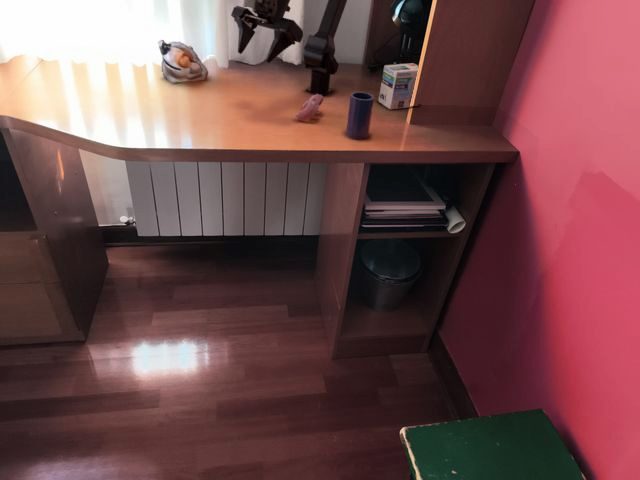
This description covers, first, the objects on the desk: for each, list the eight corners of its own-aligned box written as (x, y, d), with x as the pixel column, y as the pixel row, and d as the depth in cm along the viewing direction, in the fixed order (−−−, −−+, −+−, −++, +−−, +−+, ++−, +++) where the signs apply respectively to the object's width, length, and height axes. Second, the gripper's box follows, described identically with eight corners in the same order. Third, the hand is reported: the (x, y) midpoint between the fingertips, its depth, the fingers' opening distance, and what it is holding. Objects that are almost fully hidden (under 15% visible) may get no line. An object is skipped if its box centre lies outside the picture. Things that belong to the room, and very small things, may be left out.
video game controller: (308, 129, 119) (321, 107, 115) (293, 119, 118) (306, 97, 114) (316, 115, 127) (329, 95, 123) (302, 106, 126) (315, 85, 122)
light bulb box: (390, 110, 131) (396, 72, 124) (377, 101, 135) (383, 64, 129) (419, 106, 135) (427, 69, 129) (406, 98, 140) (413, 62, 133)
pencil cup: (350, 128, 118) (355, 90, 112) (370, 133, 116) (377, 95, 110) (342, 136, 114) (347, 96, 108) (363, 141, 112) (369, 101, 106)
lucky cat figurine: (217, 77, 141) (214, 41, 128) (192, 101, 136) (186, 66, 123) (178, 54, 142) (171, 16, 130) (152, 77, 138) (142, 40, 125)
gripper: (230, -32, 106) (204, 32, 107) (292, -19, 97) (263, 50, 99) (256, -4, 116) (233, 54, 117) (315, 10, 107) (289, 72, 109)
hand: (253, 57), depth 110 cm, fingers open, 9 cm apart
